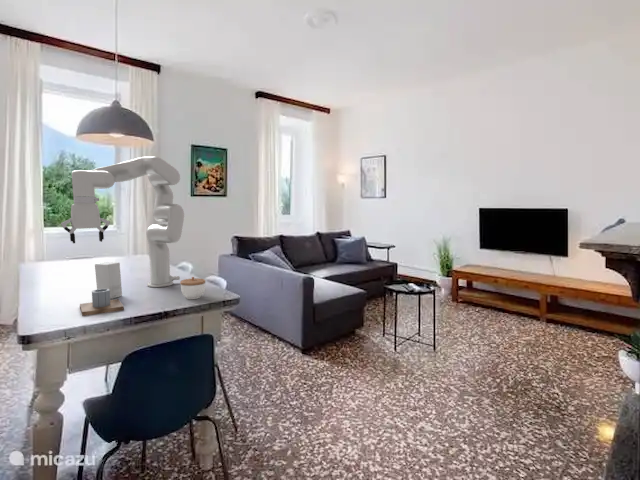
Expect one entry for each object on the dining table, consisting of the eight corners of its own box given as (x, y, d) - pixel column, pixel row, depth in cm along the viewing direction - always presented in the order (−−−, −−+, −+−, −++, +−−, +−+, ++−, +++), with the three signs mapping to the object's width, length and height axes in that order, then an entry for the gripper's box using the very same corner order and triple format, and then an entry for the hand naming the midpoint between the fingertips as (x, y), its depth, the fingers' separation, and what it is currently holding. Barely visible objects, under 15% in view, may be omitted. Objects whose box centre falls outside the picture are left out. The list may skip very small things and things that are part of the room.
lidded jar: (175, 299, 167) (174, 278, 166) (191, 293, 177) (191, 274, 176) (195, 301, 164) (194, 280, 163) (210, 295, 174) (210, 275, 173)
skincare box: (122, 296, 172) (121, 262, 171) (110, 299, 166) (108, 264, 164) (108, 294, 175) (107, 261, 173) (96, 297, 169) (94, 263, 167)
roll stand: (118, 302, 161) (117, 287, 160) (123, 310, 150) (123, 294, 149) (79, 307, 153) (79, 291, 152) (82, 316, 141) (81, 299, 141)
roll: (108, 302, 155) (108, 288, 155) (110, 305, 150) (110, 290, 150) (92, 304, 152) (91, 290, 151) (93, 308, 147) (92, 292, 146)
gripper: (106, 200, 163) (109, 239, 165) (58, 201, 152) (61, 242, 154) (109, 200, 157) (112, 241, 159) (59, 201, 146) (63, 244, 148)
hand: (87, 242), depth 157 cm, fingers open, 9 cm apart
